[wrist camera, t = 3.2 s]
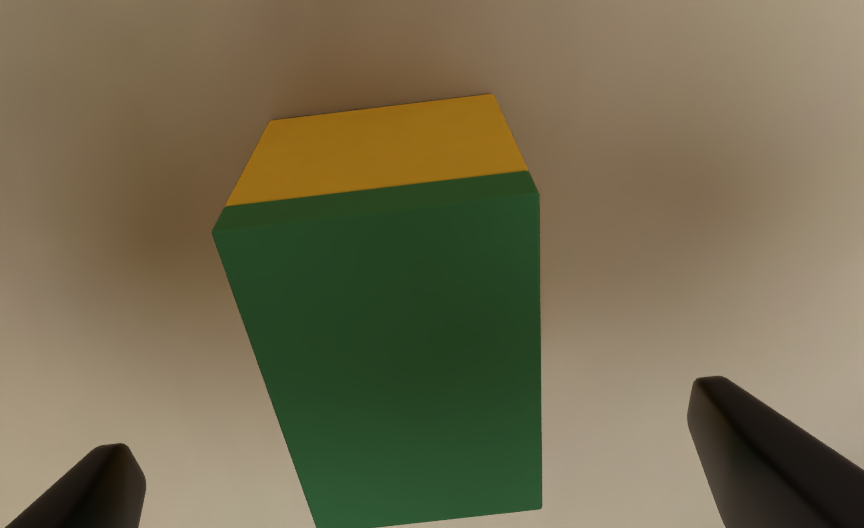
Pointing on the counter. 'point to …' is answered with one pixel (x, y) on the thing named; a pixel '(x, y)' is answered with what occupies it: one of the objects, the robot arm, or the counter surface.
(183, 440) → the counter surface
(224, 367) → the counter surface
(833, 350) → the counter surface
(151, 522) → the counter surface
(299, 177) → the sponge
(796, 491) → the robot arm
